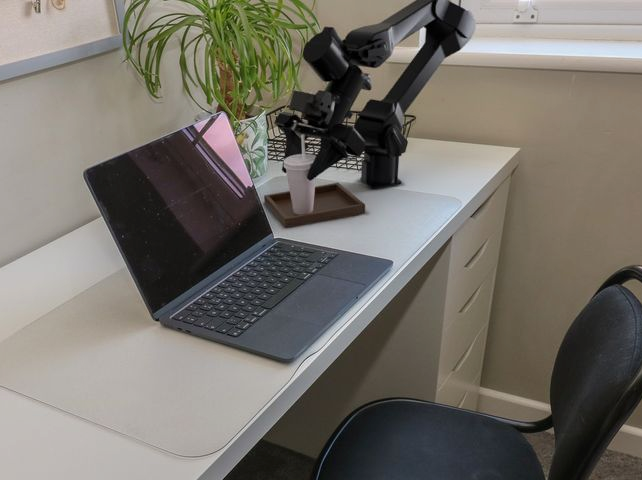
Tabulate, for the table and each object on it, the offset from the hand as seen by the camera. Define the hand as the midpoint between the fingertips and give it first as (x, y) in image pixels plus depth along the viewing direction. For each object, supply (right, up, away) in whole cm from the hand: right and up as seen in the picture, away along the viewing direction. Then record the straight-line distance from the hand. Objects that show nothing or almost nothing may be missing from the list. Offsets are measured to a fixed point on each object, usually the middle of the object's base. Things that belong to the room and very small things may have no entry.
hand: (295, 175), depth 125 cm
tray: (+4, -4, +7) cm, 9 cm away
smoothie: (+2, -5, +5) cm, 7 cm away
